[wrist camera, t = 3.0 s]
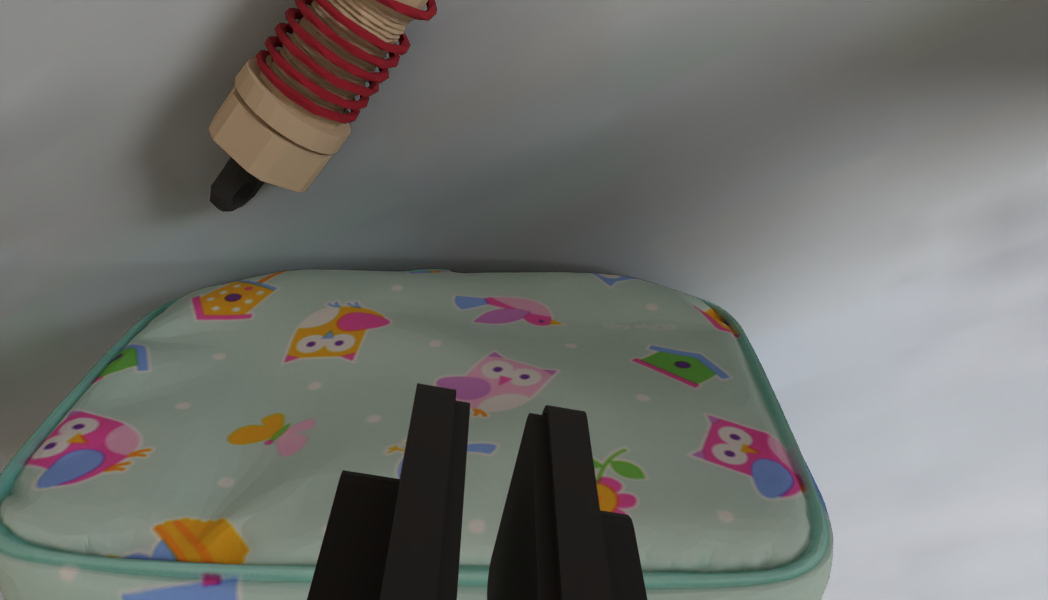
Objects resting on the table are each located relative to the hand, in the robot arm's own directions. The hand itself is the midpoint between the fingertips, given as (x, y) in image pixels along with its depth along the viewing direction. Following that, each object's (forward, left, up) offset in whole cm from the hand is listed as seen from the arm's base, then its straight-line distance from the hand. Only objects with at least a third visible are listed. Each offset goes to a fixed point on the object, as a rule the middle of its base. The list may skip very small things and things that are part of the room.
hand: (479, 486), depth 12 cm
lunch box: (+14, 0, -27) cm, 31 cm away
